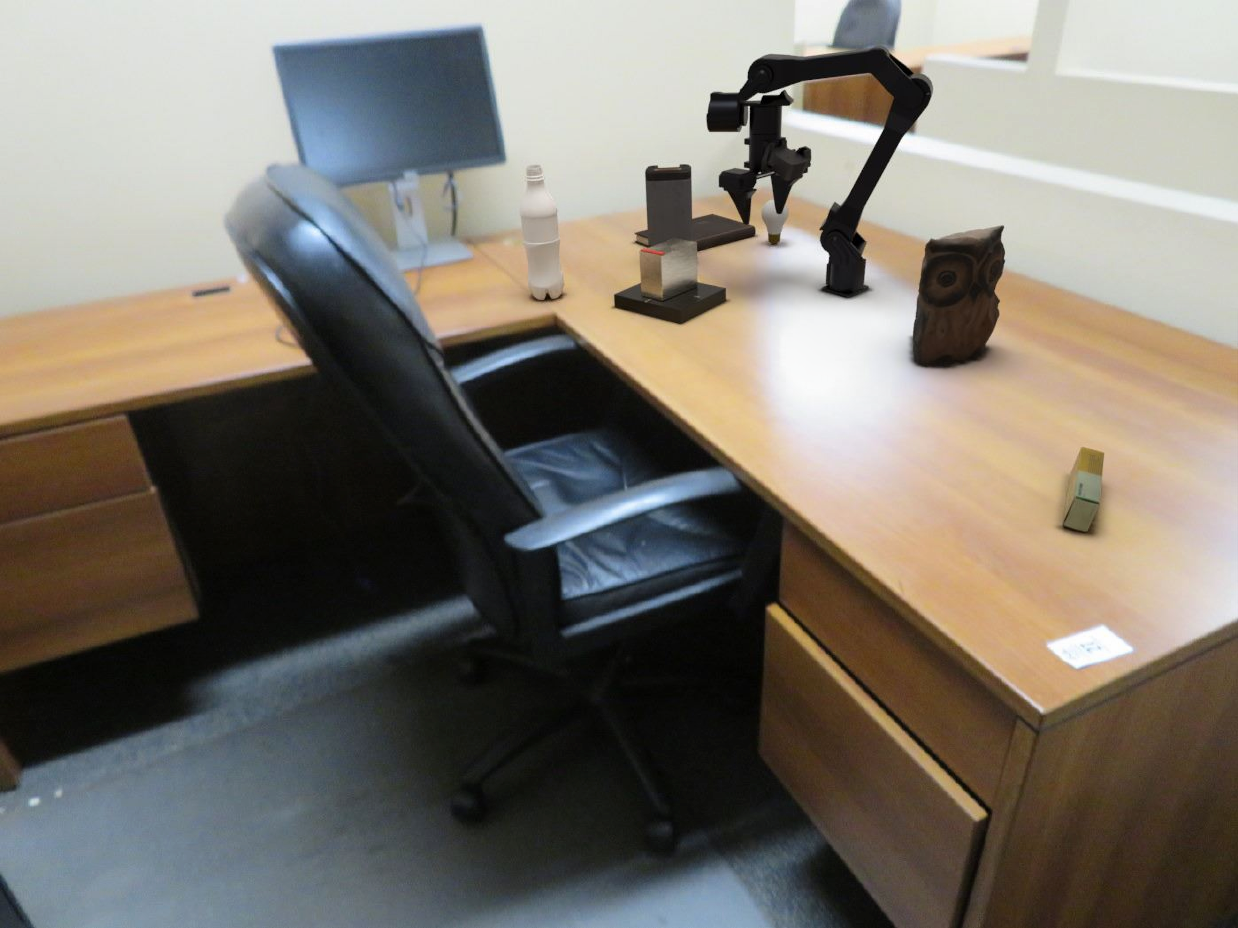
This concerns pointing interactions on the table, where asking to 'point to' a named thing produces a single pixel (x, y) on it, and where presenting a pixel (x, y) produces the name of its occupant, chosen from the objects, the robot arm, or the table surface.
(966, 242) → the owl
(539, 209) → the water bottle
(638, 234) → the hardcover book
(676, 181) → the electronic device
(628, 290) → the dial plate
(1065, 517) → the medication box
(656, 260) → the brushed aluminum block
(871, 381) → the table surface
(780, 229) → the light bulb
